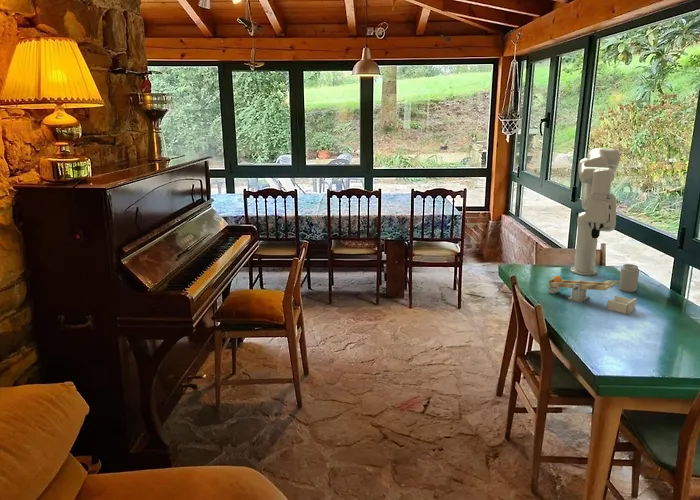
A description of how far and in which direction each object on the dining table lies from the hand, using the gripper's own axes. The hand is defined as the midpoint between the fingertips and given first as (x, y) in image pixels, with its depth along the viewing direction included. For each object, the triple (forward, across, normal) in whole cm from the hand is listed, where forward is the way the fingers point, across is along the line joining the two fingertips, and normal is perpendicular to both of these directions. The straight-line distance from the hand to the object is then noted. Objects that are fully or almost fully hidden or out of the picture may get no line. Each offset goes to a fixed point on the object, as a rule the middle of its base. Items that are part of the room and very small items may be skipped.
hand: (595, 237), depth 237 cm
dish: (+26, -19, +11) cm, 34 cm away
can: (+26, -11, -16) cm, 32 cm away
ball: (+19, +10, +12) cm, 25 cm away
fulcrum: (+26, +4, +12) cm, 29 cm away
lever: (+20, -1, +8) cm, 22 cm away
